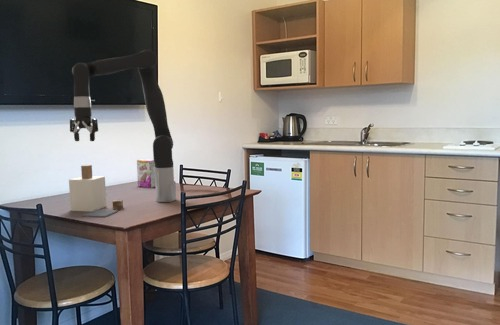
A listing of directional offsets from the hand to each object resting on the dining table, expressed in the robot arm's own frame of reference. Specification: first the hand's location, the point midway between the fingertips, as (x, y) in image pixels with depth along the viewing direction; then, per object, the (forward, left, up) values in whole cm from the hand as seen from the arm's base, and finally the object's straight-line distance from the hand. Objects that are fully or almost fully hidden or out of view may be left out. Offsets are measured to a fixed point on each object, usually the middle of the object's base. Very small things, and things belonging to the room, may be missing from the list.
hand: (84, 141), depth 218 cm
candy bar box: (-2, -61, -32) cm, 69 cm away
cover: (-2, +2, -32) cm, 32 cm away
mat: (-14, +12, -32) cm, 37 cm away
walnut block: (-16, 0, -32) cm, 36 cm away
